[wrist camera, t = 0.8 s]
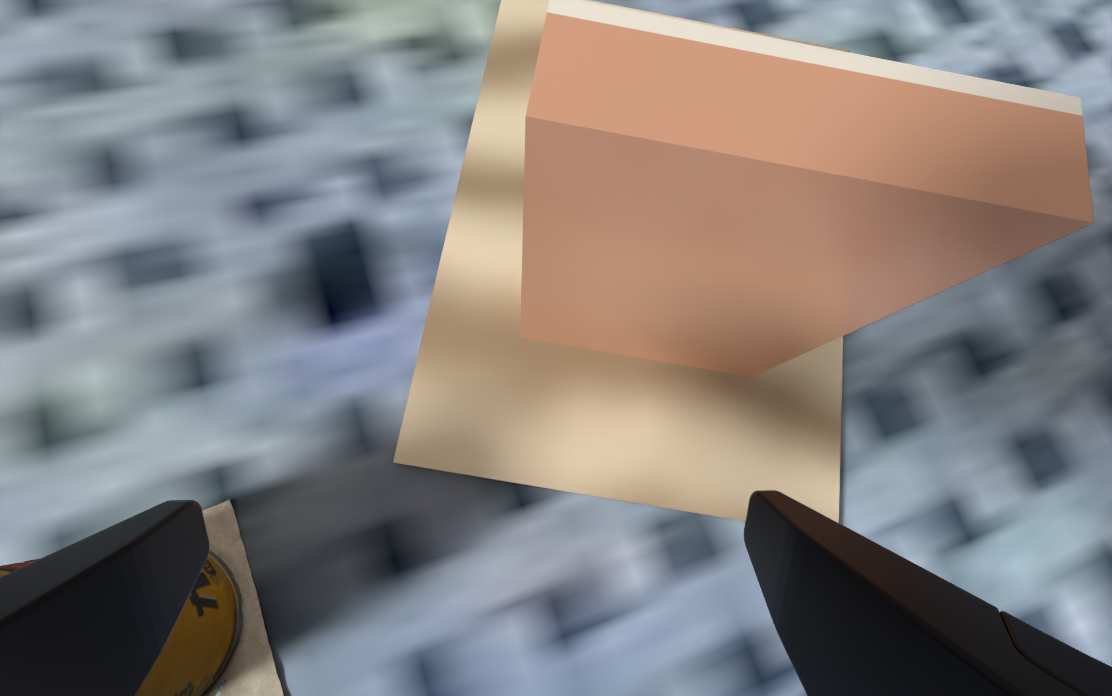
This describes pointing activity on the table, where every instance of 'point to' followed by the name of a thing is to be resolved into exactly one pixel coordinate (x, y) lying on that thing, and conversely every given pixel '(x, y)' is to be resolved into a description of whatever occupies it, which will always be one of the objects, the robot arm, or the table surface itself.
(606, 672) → the table surface
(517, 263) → the board
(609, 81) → the tile
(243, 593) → the condiment
